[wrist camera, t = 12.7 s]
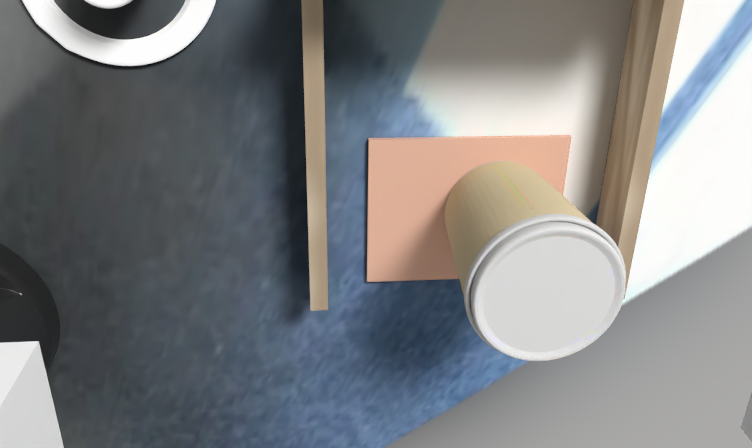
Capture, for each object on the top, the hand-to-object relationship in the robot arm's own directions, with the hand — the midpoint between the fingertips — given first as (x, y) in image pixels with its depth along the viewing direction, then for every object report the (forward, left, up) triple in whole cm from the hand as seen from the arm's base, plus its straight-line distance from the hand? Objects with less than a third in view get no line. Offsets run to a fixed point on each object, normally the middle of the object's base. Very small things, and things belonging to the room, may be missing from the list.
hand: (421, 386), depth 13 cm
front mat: (+9, -13, -35) cm, 38 cm away
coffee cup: (+11, -12, -34) cm, 38 cm away
